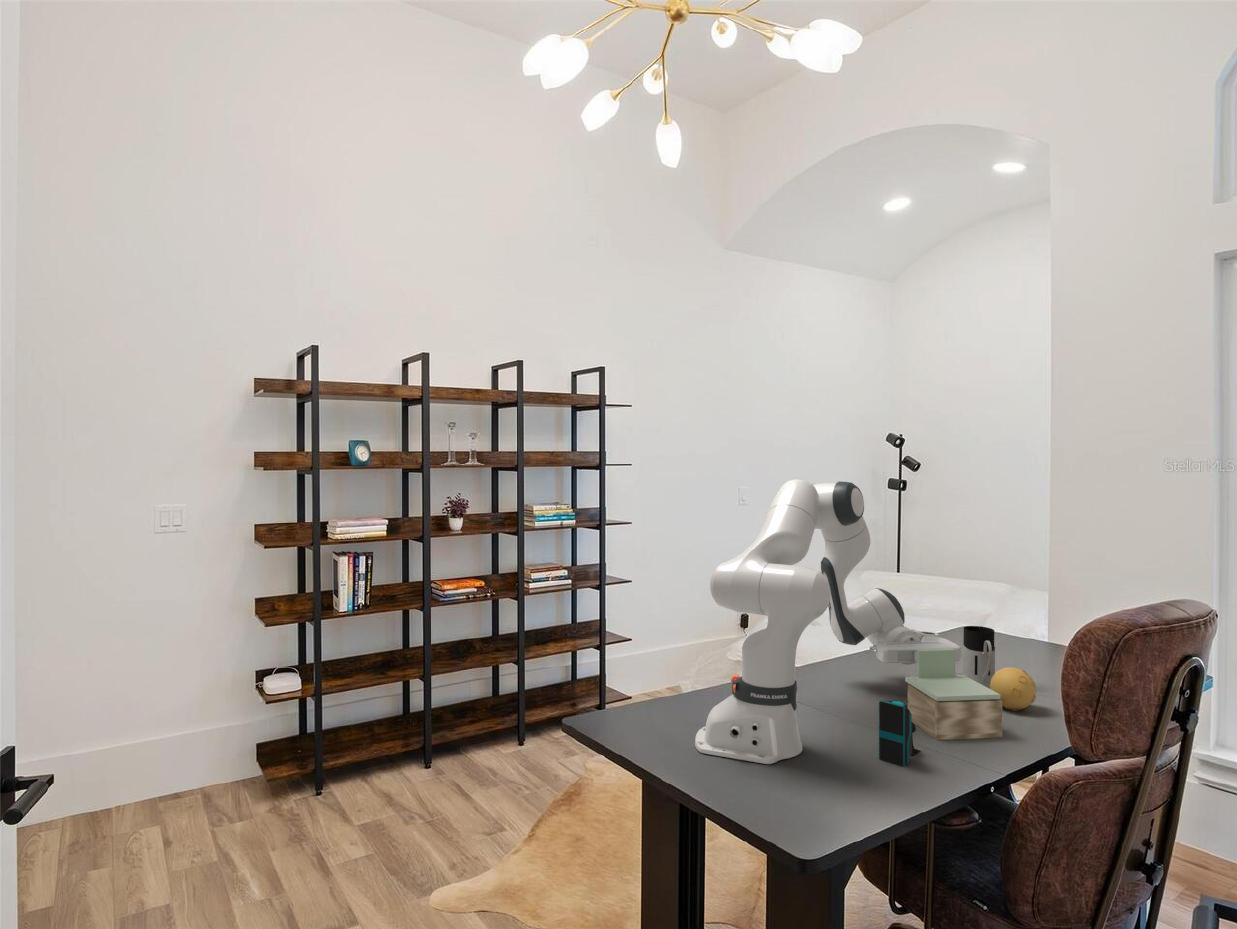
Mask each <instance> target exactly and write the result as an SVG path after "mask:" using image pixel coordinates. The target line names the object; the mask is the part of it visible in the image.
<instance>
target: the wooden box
mask: <svg viewBox="0 0 1237 929" xmlns="http://www.w3.org/2000/svg"><path fill="white" fill-rule="evenodd" d="M907 703H908V709H909V710H910V712H911V714H912V716H911V721H912V722H913V723H914V724H915V726H916V727H917V726H918V727H919V728H920V729H922V730H923V731H924V732H925V733H926V734H928V735H929V736H931V737H932V738H934V739H935V740H937V741H940V740H941V741H942V740H946V741H947V740H964V739H965V740H967V739H969V740H970V739H971V740H972V739H990V738H991V739H993V738H994V739H995V738H1003V706H1002V701H1001V700H999V699H987V700H959V701H936V700H934V699H933V698H931V697H930V696H928V695H926V694H925V693H923V692H922V691H920V690H918V689H917V688H915V687H914V686H912V685H911V684H909V683H907Z"/></svg>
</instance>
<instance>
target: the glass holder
mask: <svg viewBox="0 0 1237 929" xmlns="http://www.w3.org/2000/svg"><path fill="white" fill-rule="evenodd" d="M995 673H996V647H995V629H994V628H991V627H986V626H980V625H979V626H978V625H967V626H964V627H963V642H962V675H964V676H966V677H968V678H970V679H972V680H974V681H976V682H978V683H980V684H981V685H983V686H985V687H987V688H989V689H990V682H991V679H992V677H993V675H994V674H995Z"/></svg>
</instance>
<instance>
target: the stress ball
mask: <svg viewBox="0 0 1237 929" xmlns="http://www.w3.org/2000/svg"><path fill="white" fill-rule="evenodd" d="M990 689H991V690H993V691H995V692H996V693H998V694H1000V699H999V700H1001V701H1002V707H1005V708H1006V709H1007V710H1008V711H1009V710H1010V711H1013V712H1015V711H1019V710H1022V709H1026V708H1027V707H1029V706H1030V705H1031V704H1034V702H1035V700H1036V698H1037V695H1036V694H1037V688H1036V683H1035V681H1034V679H1033V677H1032V676H1030V675H1029V674H1028V673H1027V672H1026V671H1025V670H1023V669H1020V668H1019V667H1018V668H1017V667H1008V666H1007V667H1003V668H1001V669H999V670H997V671H995V674H994V675H993V677H992V679H991V682H990Z"/></svg>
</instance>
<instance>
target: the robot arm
mask: <svg viewBox="0 0 1237 929" xmlns="http://www.w3.org/2000/svg"><path fill="white" fill-rule="evenodd" d="M768 508H769V509H768V511H767V512H766V513H767V514H766V517H765V519H764V522H763V525H762V527H761V529H760V531H759V533H758V535H757V537H756V538H755V540H754V541H753V542H752V543H751V544H750V545H748V546H747V548H746V549H745V550H743V551H742V552H741V553H739V554H737V555H736V556H735V557H733V558H731V559H729V560H727V561H724V562H721V563H720V564H718V565H717V566H716V568H715V569H714V570H713V573H712V574H711V578H710V580H709V587H710V588H709V589H710V592H711V596H712V598H713V600H714V602H715V603H716V605H718V606H720V607H723V608H725V609H728V610H731V611H735V612H738V613H744V614H753V615H761V616H766V617H767V626H766V628H763V629H760V630H758V631H756V632H753V633H751V634H749V635H748V636H747V637H746V638H745V640H744V641H743V643H742V646H741V676H740V675H739V674H737V673H734V674H732V676H731V679H730V682H731V685H732V686H731V692H732V694H731V695H729V696H728V697H726V698H725V699H723V700H722V701H721V702H719V703H718V704H716V705H714V707H712V708H711V709H710V712H709V713H708V715H707V718H706V723H705V726H703V727H701V728H700V729H699V730H698V731H697V732H696V735H695V737H694V738H695V740H694V747H695V748H696V750H697V751H698V752H699V753H701V754H706V755H712V756H715V757H717V756H718V757H722V758H724V757H725V758H728V759H729V758H730V759H734V760H740V761H747V762H753V763H758V764H759V763H760V764H765V765H772V764H775V763H777V762H778V761H781V760H785V759H786V760H787V759H791V758H793V757H796V756H798V755H800V754H801V753H802V752H803V744H802V741H801V737H800V733H799V728H798V726H799V725H798V721H797V720H798V719H797V706H798V697H799V696H798V684H797V680H796V656H797V649H798V645H799V644H798V643H799V641H800V638H801V636H802V634H803V632H805V630H806V628H807V627H808V626H809V625H810V624H812V622H814V621H815V620H816V619H818V618H820V617H821V616H823V615H824V614H825V612H826V611H827V608H828V613H829V614H828V615H829V616H828V617H829V624H830V627H831V631H832V633H833V634H834V635H833V636H835V638H836V639H837V640H838V641H839V642H840V643H842V644H845V645H848V646H849V645H850V646H857V645H858V644H860V643H862V641H864V640H865V639H866V638H867V640H868V641H869V642H870V643H871V646H869V650H870V651H871V652H873V653H875V657H876V658H877V659H878V660H879V661H881V662H882V663H884V664H902V665H907V666H909V665H910V666H911V665H913V664H915V663H916V664H917V650H923V649H954V650H955V663H957V662H960V661H961V660H962V650H961V649H962V648H961V646H960V645H959V644H957V643H955V642H953V641H951V640H949V639H947V638H945V637H944V638H943V637H941V634H939V633H937V632H930V631H920V630H916V629H915V628H909V627H907V626H904V624H905V621H906V620H905V612H904V608H903V606H902V605H901V602H900V601H899V600H898V599H897V597H896V596H894V594H893V593H891V592H889V591H888V590H886V589H882V588H878V587H876V588H873V589H872V590H870V591H867V592H866V593H865V594H862V595H861V596H860V597H858V598H856V599H855V600H853V601H851V602H849V603H847V602H848V601H847V597H846V592H845V582H846V581H847V580H846V579H847V578H848V576H849V575H850V574H851V572H852V571H853V570H854V568H856V566H858V564H859V563H860V562H862V561H863V559H864V558H865V557H866V555H867V554H868V552H869V549H870V546H871V534H870V531H869V528H868V525H867V522H866V520H865V519H864V516H863V515H864V512H865V500H864V496H863V493H862V491H861V490H860V488H859V487H858V486H857V485H855V484H854V482H850V481H837V482H822V483H811V482H809V481H807V480H805V479H798V478H797V479H796V478H795V479H789V480H788V481H786V482H785V483H783V484H782V485H781V487H780V488H779V490H778V491H777V493H776V495H775V496H774V497H773V500H772V502H771V504H770V506H769V507H768ZM815 530H820V532H821V534H822V538H823V539H824V546H825V547H824V554H823V558H822V559H821V561H820V570H819V571H818V570H815V569H813V568H809V567H806V566H802V565H796V564H798V563H800V562H801V561H802V560H804V558H805V557H806V555H808V552H809V549H810V546H811V543H812V539H813V537H814V536H813V535H814V533H815Z"/></svg>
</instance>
